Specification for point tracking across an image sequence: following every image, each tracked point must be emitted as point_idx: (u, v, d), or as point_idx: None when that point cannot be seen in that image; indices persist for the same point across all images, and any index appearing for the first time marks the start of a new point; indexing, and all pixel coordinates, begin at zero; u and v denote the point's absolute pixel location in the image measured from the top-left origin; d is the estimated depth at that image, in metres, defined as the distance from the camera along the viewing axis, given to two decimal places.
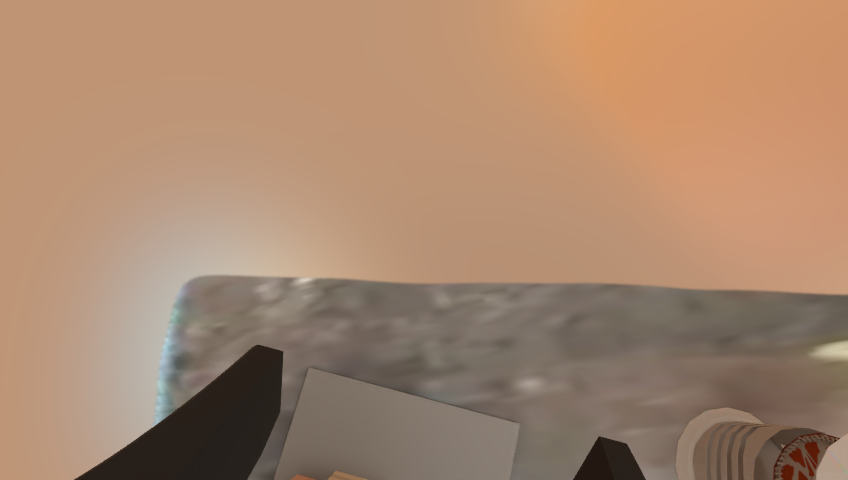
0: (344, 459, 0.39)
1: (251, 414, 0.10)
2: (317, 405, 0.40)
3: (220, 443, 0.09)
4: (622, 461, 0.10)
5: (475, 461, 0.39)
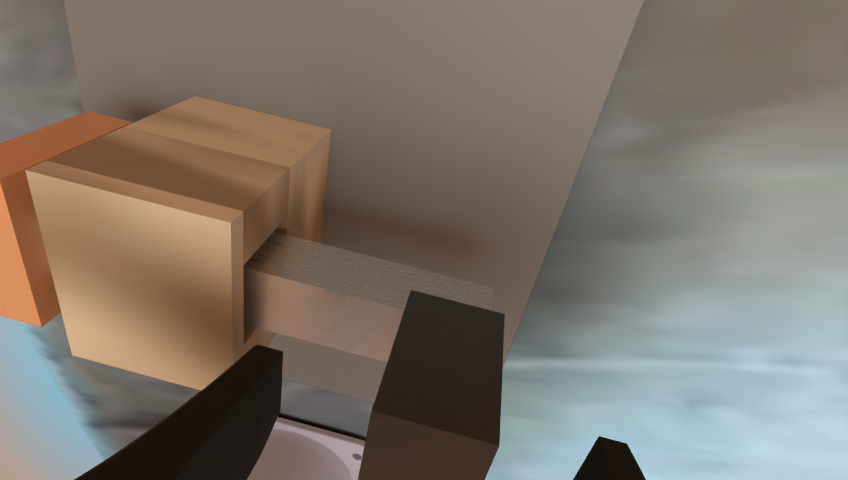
0: (205, 71, 0.17)
1: (251, 414, 0.10)
2: None
3: (220, 443, 0.09)
4: (622, 461, 0.10)
5: (515, 68, 0.15)
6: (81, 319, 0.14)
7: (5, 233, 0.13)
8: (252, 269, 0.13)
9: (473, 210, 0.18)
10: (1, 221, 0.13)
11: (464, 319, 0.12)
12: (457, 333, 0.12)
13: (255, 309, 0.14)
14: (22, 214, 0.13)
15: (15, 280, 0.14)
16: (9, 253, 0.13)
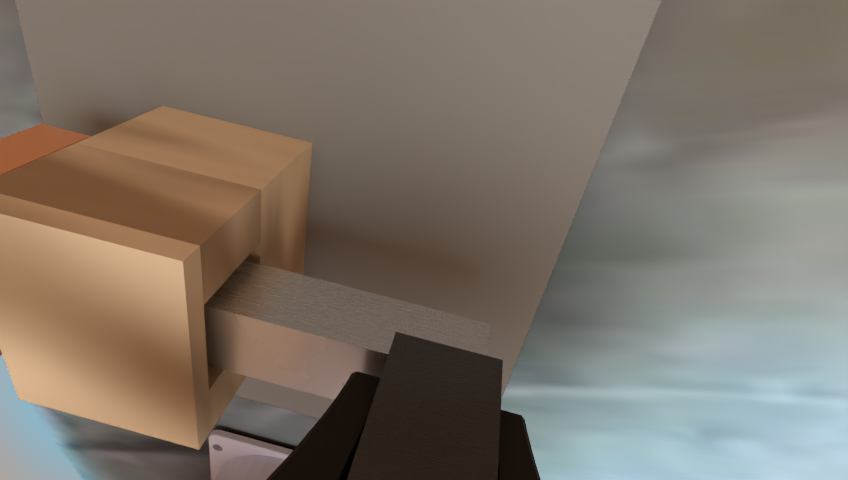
0: (173, 79, 0.15)
1: None
2: None
3: (343, 478, 0.09)
4: (510, 431, 0.10)
5: (515, 76, 0.14)
6: (24, 361, 0.12)
7: None
8: (216, 308, 0.12)
9: (469, 231, 0.16)
10: None
11: (456, 368, 0.11)
12: (447, 387, 0.10)
13: (221, 350, 0.12)
14: None
15: None
16: None
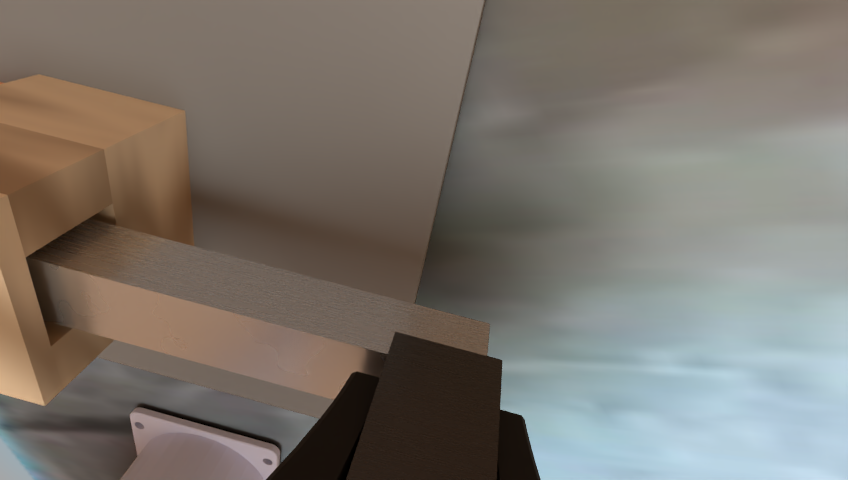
0: (45, 47, 0.15)
1: None
2: None
3: (343, 477, 0.09)
4: (510, 431, 0.10)
5: (366, 41, 0.14)
6: None
7: None
8: (215, 307, 0.12)
9: (345, 199, 0.16)
10: None
11: (455, 368, 0.11)
12: (447, 387, 0.10)
13: (220, 350, 0.12)
14: None
15: None
16: None
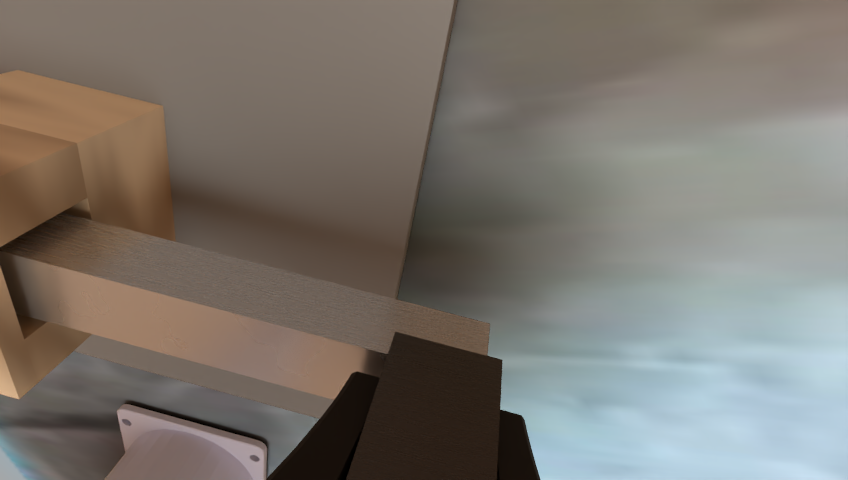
0: (23, 42, 0.16)
1: None
2: None
3: (343, 477, 0.09)
4: (510, 431, 0.10)
5: (340, 35, 0.14)
6: None
7: None
8: (215, 308, 0.12)
9: (323, 194, 0.16)
10: None
11: (455, 368, 0.11)
12: (447, 386, 0.10)
13: (220, 350, 0.12)
14: None
15: None
16: None
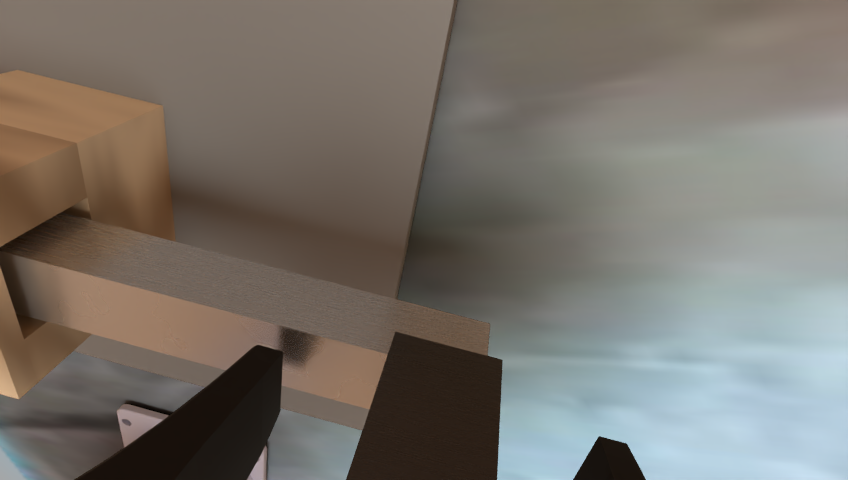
0: (23, 42, 0.16)
1: (251, 414, 0.10)
2: None
3: (220, 443, 0.09)
4: (622, 461, 0.10)
5: (340, 35, 0.14)
6: None
7: None
8: (215, 308, 0.12)
9: (323, 194, 0.16)
10: None
11: (456, 368, 0.11)
12: (447, 386, 0.10)
13: (220, 350, 0.12)
14: None
15: None
16: None
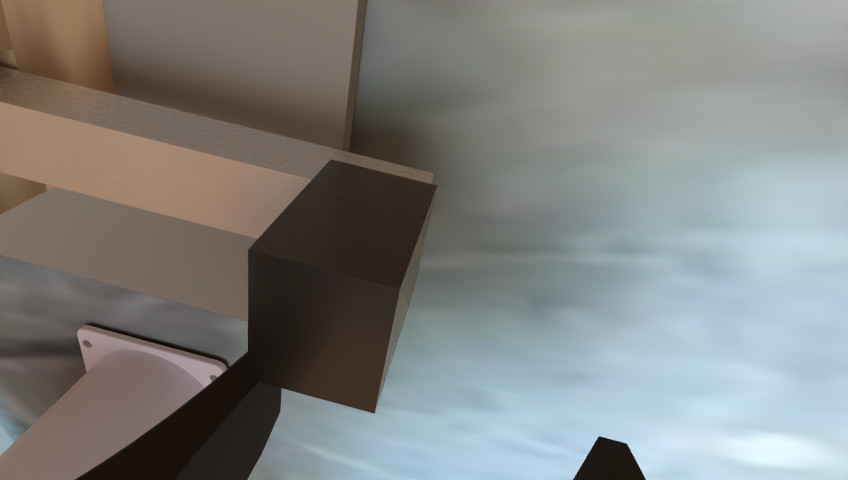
0: None
1: (251, 414, 0.10)
2: None
3: (220, 443, 0.09)
4: (622, 461, 0.10)
5: None
6: None
7: None
8: (153, 139, 0.12)
9: (261, 71, 0.16)
10: None
11: (387, 186, 0.11)
12: (376, 196, 0.10)
13: (160, 190, 0.12)
14: None
15: None
16: None
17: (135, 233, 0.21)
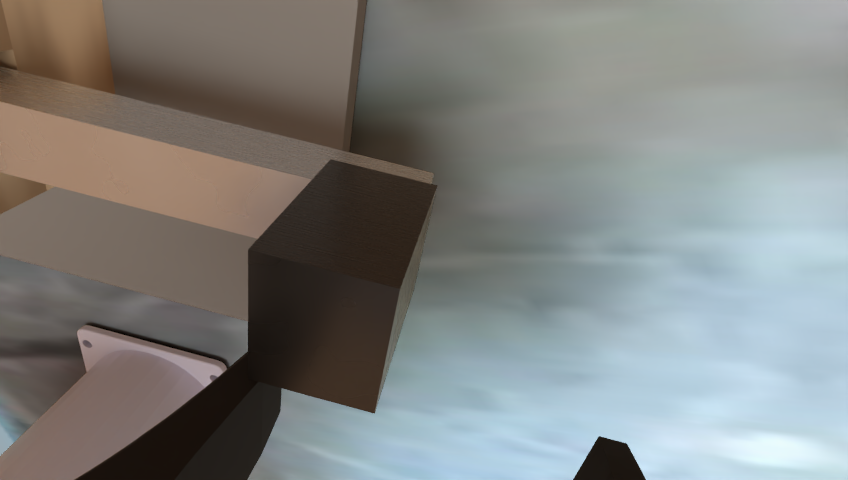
0: None
1: (251, 414, 0.10)
2: None
3: (220, 443, 0.09)
4: (622, 461, 0.10)
5: None
6: None
7: None
8: (153, 139, 0.12)
9: (261, 71, 0.16)
10: None
11: (387, 186, 0.11)
12: (376, 196, 0.10)
13: (160, 190, 0.12)
14: None
15: None
16: None
17: (135, 233, 0.21)
